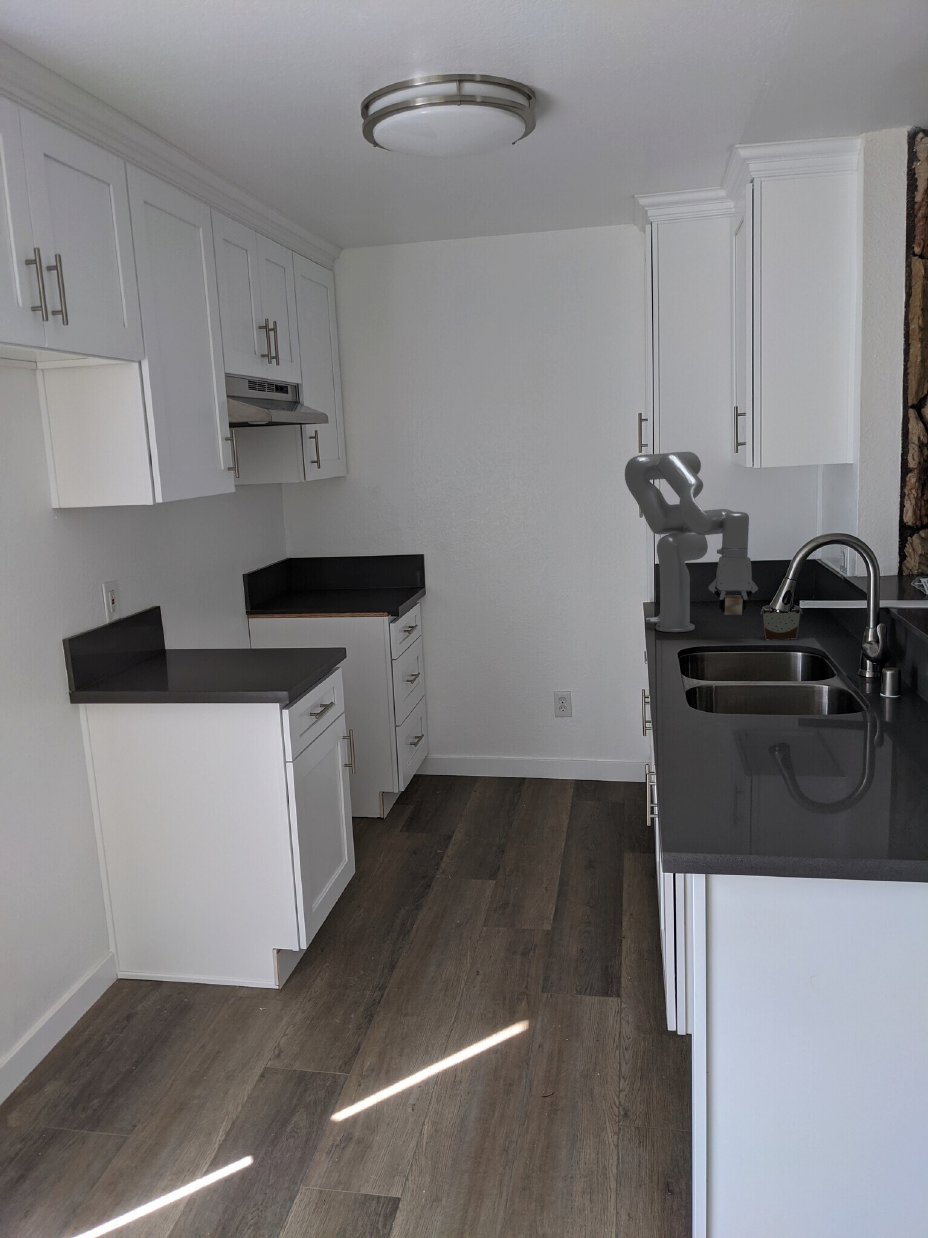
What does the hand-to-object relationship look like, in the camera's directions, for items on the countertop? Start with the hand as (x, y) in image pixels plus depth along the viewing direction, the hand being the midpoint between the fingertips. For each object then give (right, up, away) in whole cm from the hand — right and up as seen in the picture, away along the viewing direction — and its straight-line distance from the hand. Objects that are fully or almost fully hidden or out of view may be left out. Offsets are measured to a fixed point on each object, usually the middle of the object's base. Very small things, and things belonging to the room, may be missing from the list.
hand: (732, 611), depth 286 cm
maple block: (0, -1, 0) cm, 1 cm away
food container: (+15, -8, +3) cm, 18 cm away
